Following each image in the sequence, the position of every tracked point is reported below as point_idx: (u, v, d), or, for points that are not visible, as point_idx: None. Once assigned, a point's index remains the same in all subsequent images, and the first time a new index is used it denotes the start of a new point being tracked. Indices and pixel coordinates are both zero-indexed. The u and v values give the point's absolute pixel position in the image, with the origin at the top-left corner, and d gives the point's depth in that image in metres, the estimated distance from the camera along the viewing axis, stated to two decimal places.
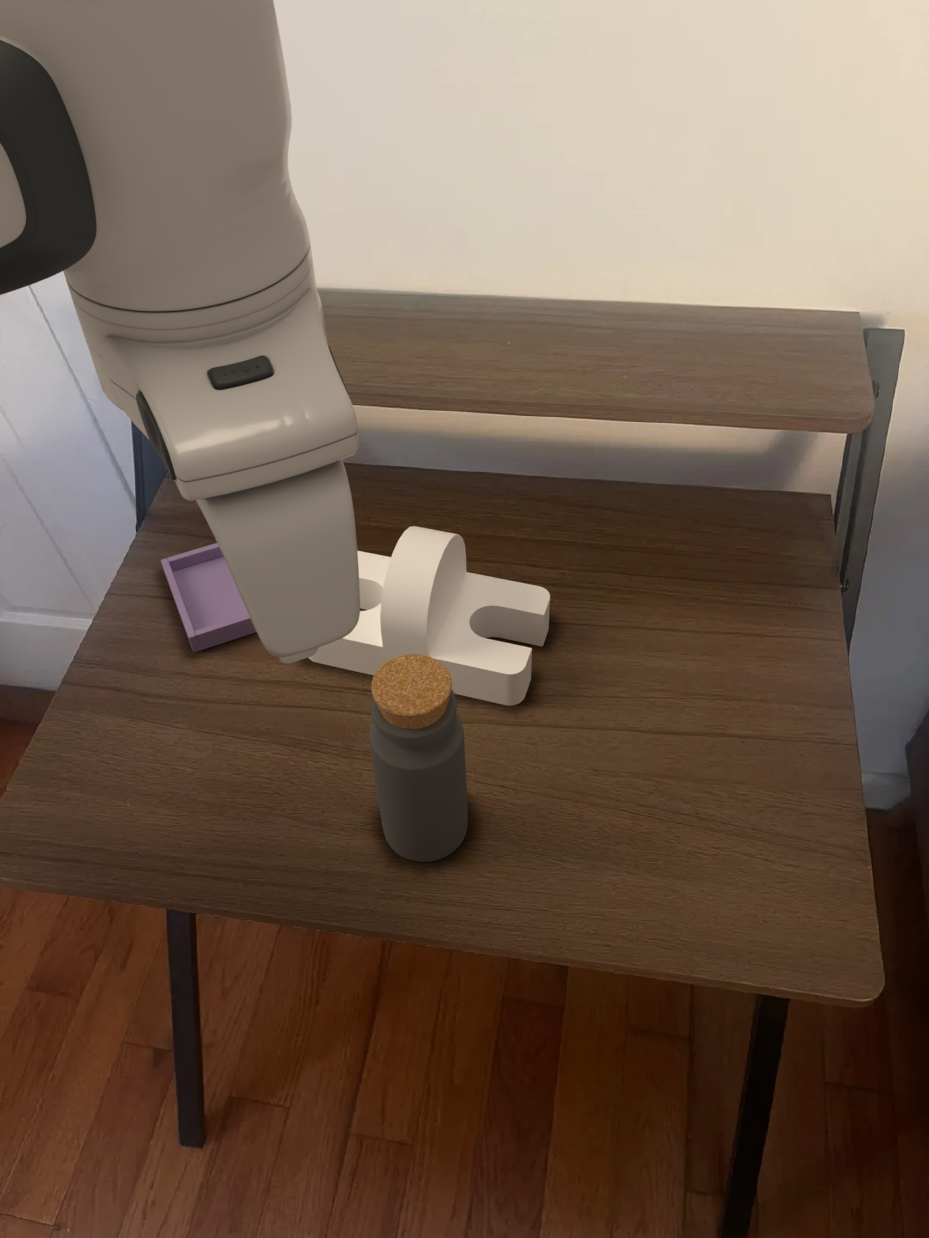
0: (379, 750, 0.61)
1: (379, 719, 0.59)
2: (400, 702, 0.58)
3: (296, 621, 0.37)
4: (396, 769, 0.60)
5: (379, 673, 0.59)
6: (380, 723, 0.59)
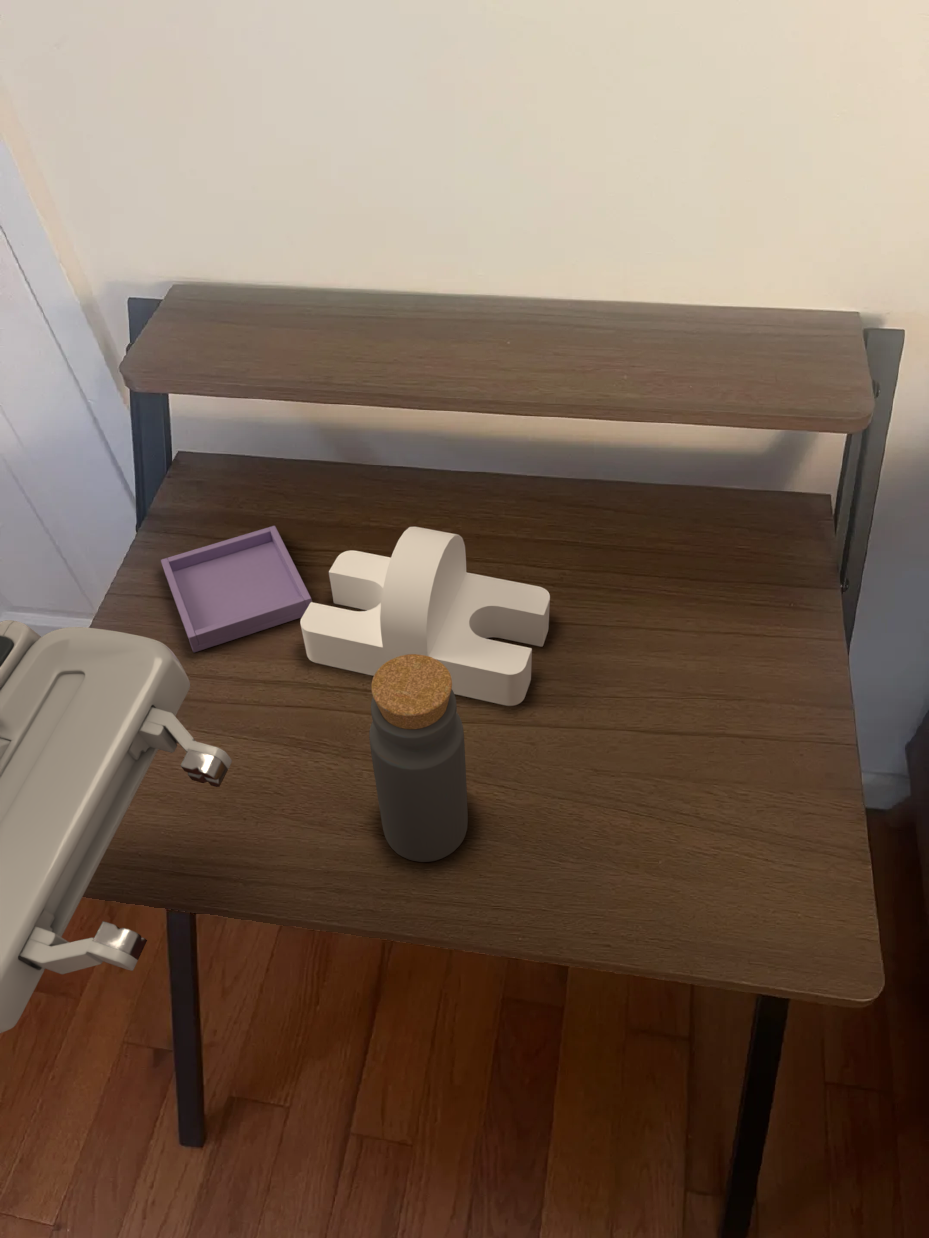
0: (379, 750, 0.61)
1: (379, 719, 0.59)
2: (400, 702, 0.58)
3: None
4: (396, 769, 0.60)
5: (379, 673, 0.59)
6: (380, 723, 0.59)
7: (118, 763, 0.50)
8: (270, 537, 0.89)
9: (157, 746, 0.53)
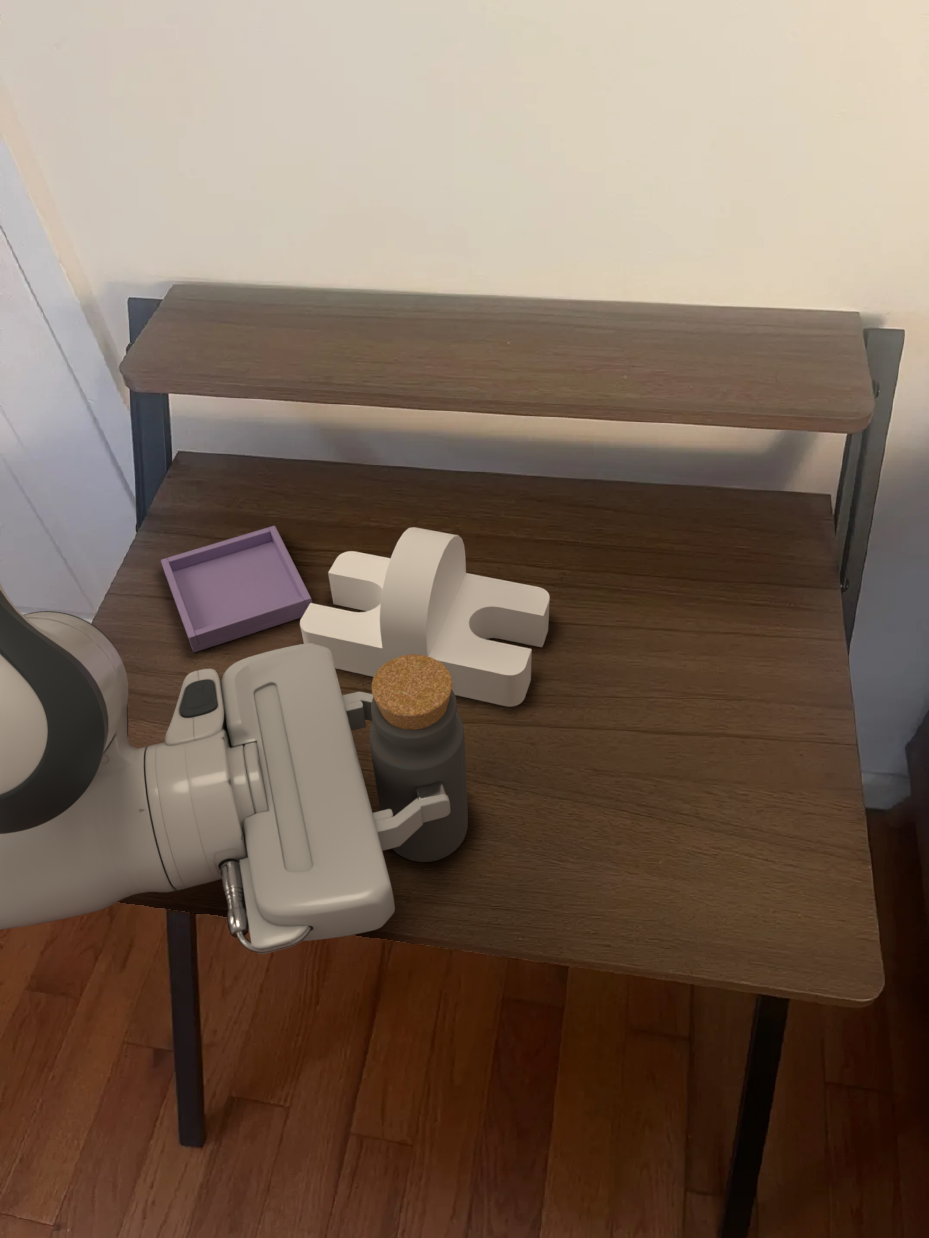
0: (379, 751, 0.61)
1: (379, 720, 0.59)
2: (400, 702, 0.58)
3: None
4: (396, 769, 0.60)
5: (379, 673, 0.59)
6: (380, 723, 0.59)
7: (348, 718, 0.64)
8: (270, 537, 0.89)
9: (354, 725, 0.66)
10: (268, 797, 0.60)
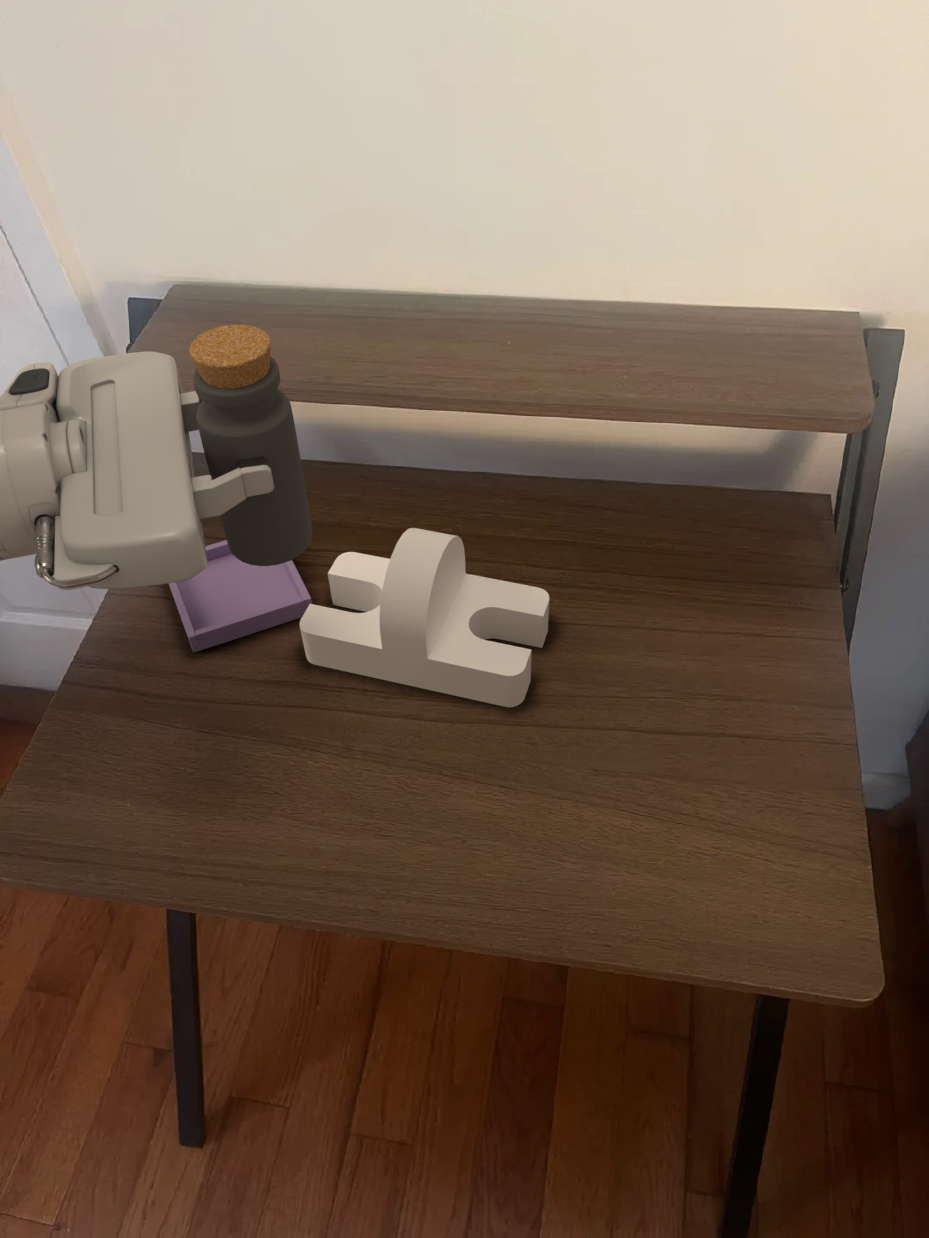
0: (203, 422, 0.61)
1: (198, 382, 0.60)
2: (215, 357, 0.58)
3: None
4: (218, 438, 0.61)
5: (199, 337, 0.60)
6: (199, 385, 0.59)
7: (181, 407, 0.65)
8: None
9: (192, 425, 0.67)
10: (88, 462, 0.60)
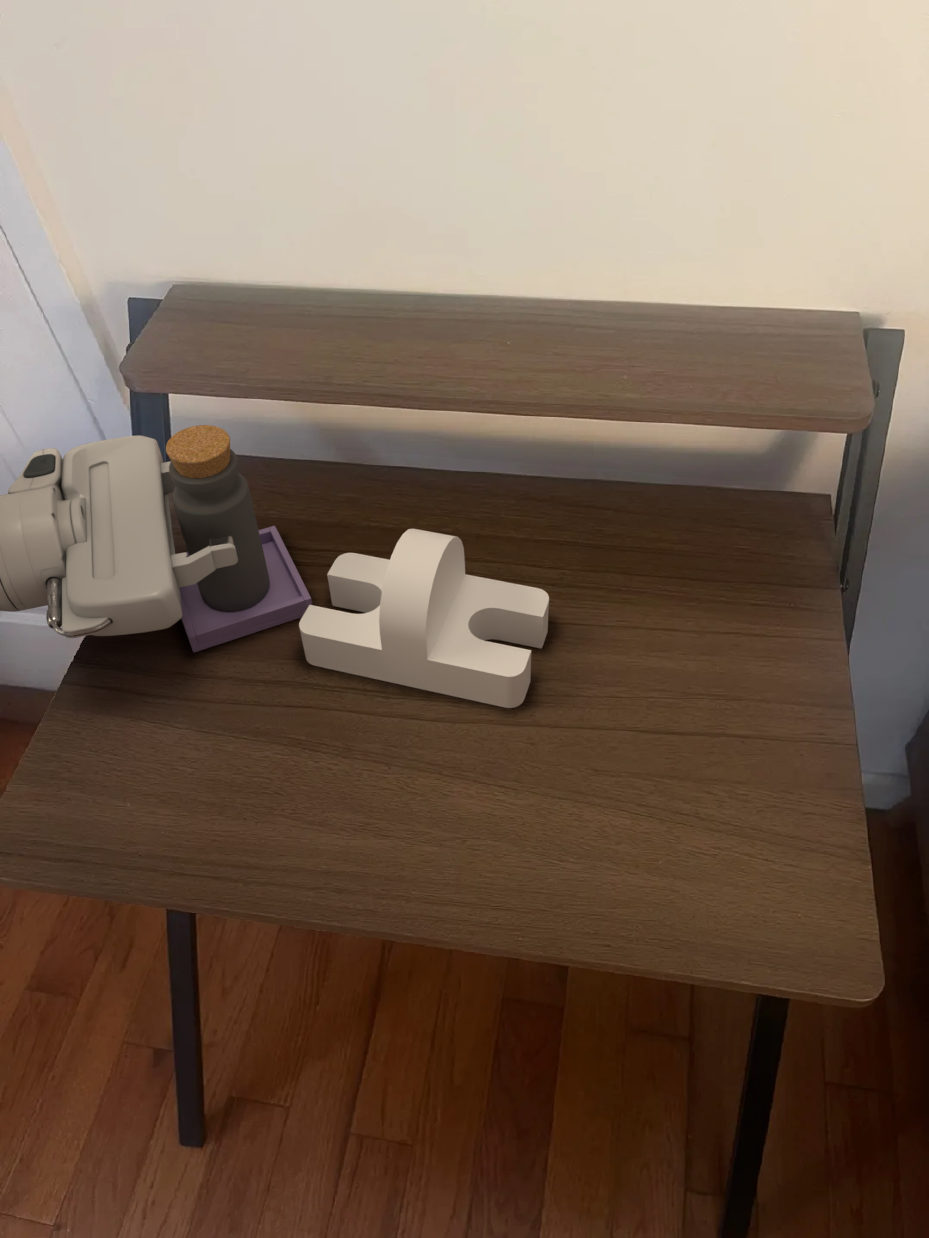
0: (178, 503, 0.77)
1: (173, 473, 0.75)
2: (186, 454, 0.74)
3: None
4: (190, 516, 0.77)
5: (173, 437, 0.76)
6: (174, 475, 0.75)
7: (162, 485, 0.80)
8: (270, 537, 0.89)
9: (170, 488, 0.83)
10: (87, 533, 0.76)
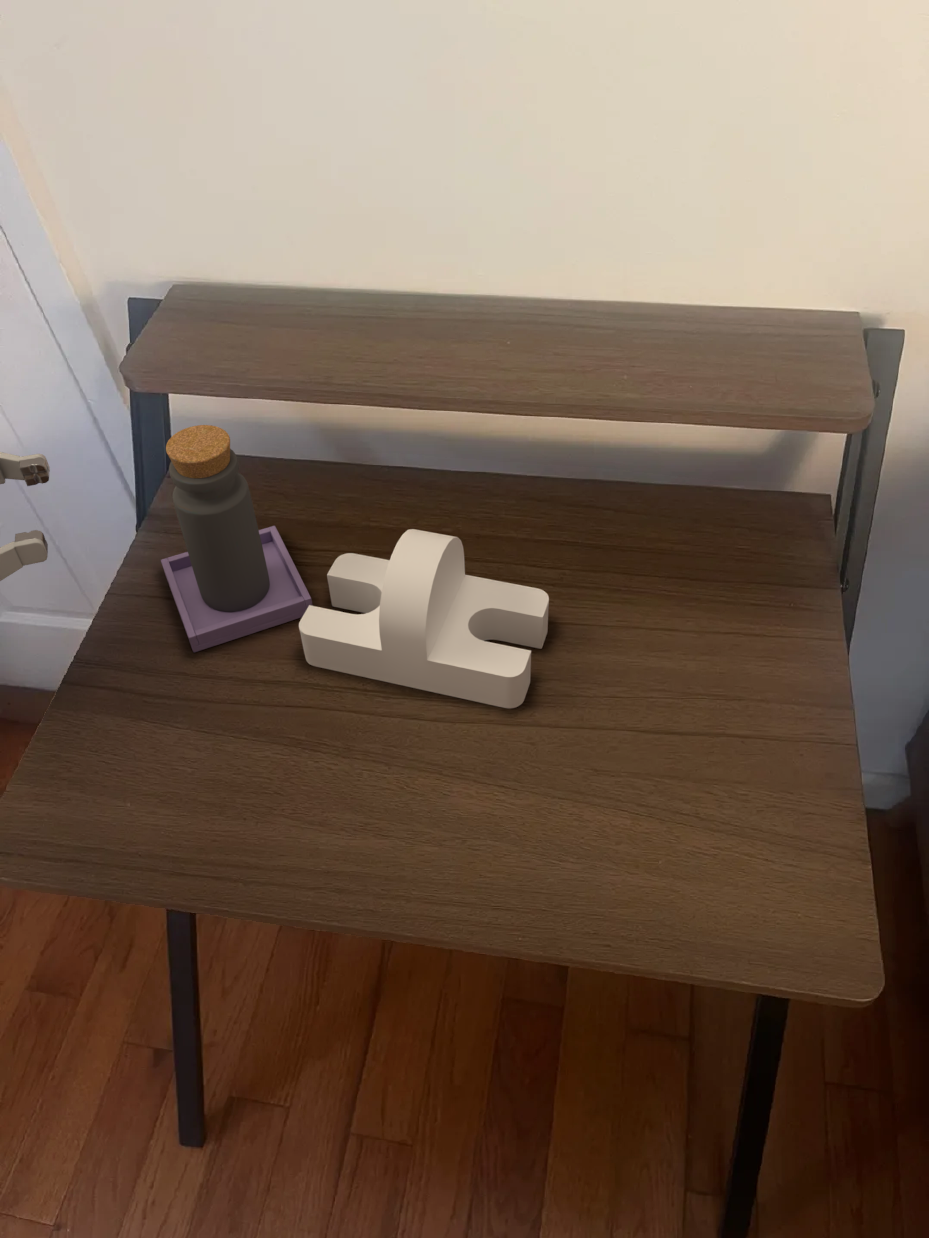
0: (178, 503, 0.77)
1: (173, 473, 0.75)
2: (186, 454, 0.74)
3: None
4: (190, 516, 0.77)
5: (173, 437, 0.76)
6: (174, 475, 0.75)
7: None
8: (270, 537, 0.89)
9: None
10: None
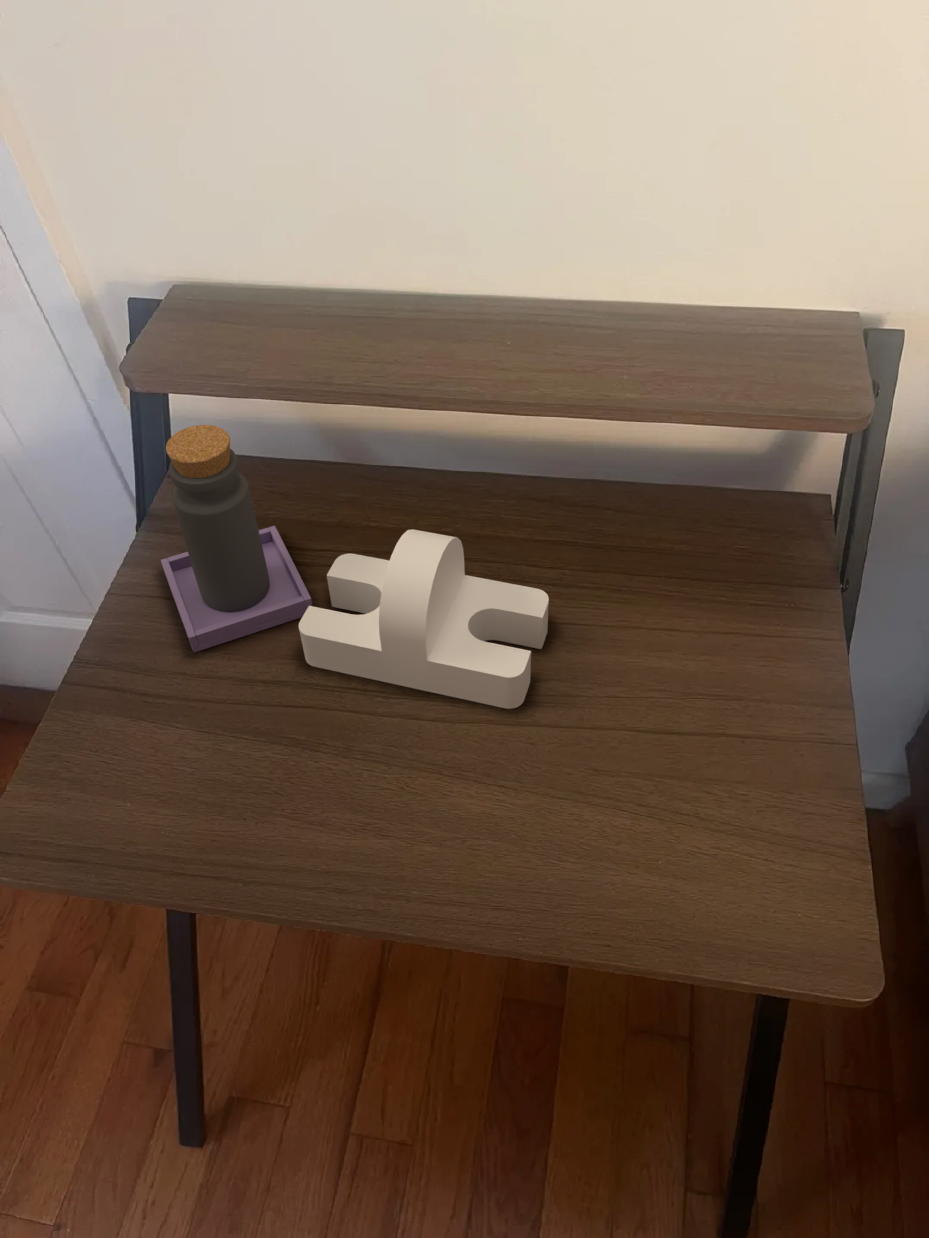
0: (178, 503, 0.77)
1: (173, 473, 0.75)
2: (186, 454, 0.74)
3: None
4: (190, 516, 0.77)
5: (173, 437, 0.76)
6: (174, 475, 0.75)
7: None
8: (270, 537, 0.89)
9: None
10: None
